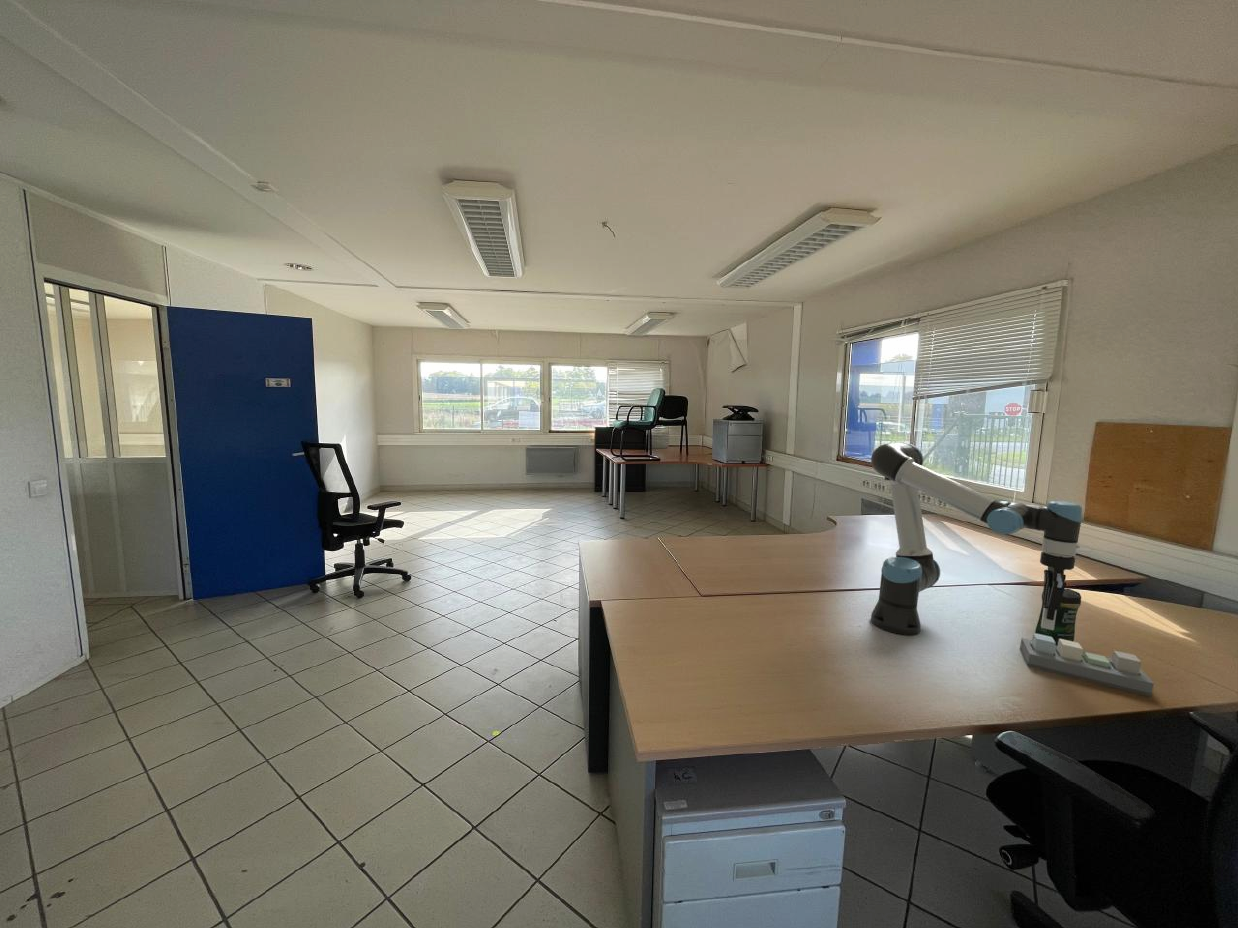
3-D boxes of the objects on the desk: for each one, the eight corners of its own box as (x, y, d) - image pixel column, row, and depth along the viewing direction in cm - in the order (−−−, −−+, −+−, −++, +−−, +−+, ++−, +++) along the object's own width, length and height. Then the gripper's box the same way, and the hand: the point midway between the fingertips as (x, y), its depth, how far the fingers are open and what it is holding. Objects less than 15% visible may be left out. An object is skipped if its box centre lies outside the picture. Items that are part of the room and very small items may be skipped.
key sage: (1086, 670, 137) (1089, 658, 137) (1082, 664, 141) (1084, 651, 141) (1107, 675, 135) (1109, 662, 135) (1102, 668, 139) (1104, 656, 138)
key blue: (1034, 650, 143) (1036, 638, 143) (1031, 644, 147) (1033, 632, 146) (1053, 655, 141) (1055, 642, 140) (1049, 648, 145) (1051, 636, 144)
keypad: (1027, 666, 142) (1029, 653, 141) (1019, 649, 152) (1021, 637, 151) (1151, 696, 128) (1153, 683, 127) (1133, 675, 138) (1135, 663, 138)
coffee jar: (1051, 647, 154) (1060, 593, 151) (1029, 635, 161) (1037, 584, 159) (1079, 647, 154) (1088, 594, 152) (1055, 635, 162) (1064, 584, 159)
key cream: (1060, 656, 140) (1062, 644, 140) (1056, 650, 144) (1058, 638, 143) (1080, 661, 138) (1082, 648, 137) (1076, 655, 142) (1078, 642, 141)
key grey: (1116, 670, 134) (1119, 657, 133) (1111, 663, 138) (1113, 650, 137) (1138, 675, 132) (1141, 661, 131) (1132, 667, 135) (1134, 655, 135)
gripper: (1082, 561, 132) (1069, 640, 135) (1068, 550, 143) (1057, 623, 146) (1047, 556, 136) (1035, 633, 139) (1036, 546, 147) (1026, 617, 150)
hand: (1047, 628), depth 143 cm, fingers closed
